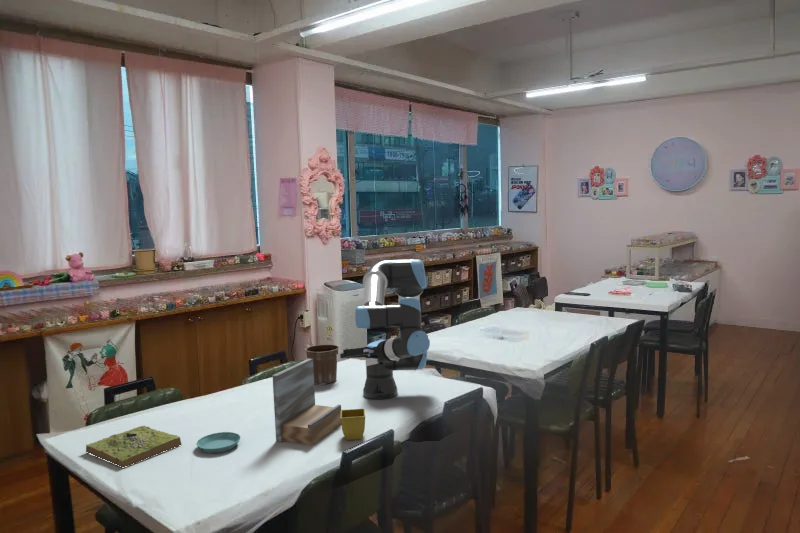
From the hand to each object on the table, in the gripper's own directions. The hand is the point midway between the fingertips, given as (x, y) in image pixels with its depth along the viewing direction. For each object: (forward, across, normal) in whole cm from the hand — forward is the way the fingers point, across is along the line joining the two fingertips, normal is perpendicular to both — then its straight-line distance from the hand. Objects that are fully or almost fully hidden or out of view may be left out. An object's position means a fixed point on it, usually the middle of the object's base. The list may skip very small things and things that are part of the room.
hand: (352, 360), depth 213 cm
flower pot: (+3, +3, -27) cm, 27 cm away
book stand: (+19, -4, -24) cm, 31 cm away
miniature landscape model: (+54, -54, -29) cm, 82 cm away
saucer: (+33, -33, -29) cm, 55 cm away
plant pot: (+63, +34, +4) cm, 72 cm away
